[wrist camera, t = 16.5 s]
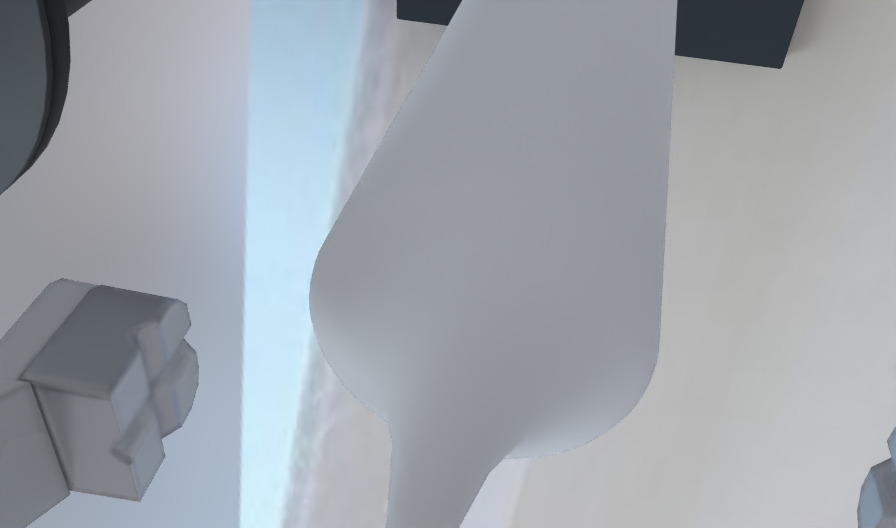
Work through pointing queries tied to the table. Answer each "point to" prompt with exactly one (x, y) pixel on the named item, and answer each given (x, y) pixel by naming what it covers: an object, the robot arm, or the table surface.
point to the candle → (506, 245)
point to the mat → (689, 27)
